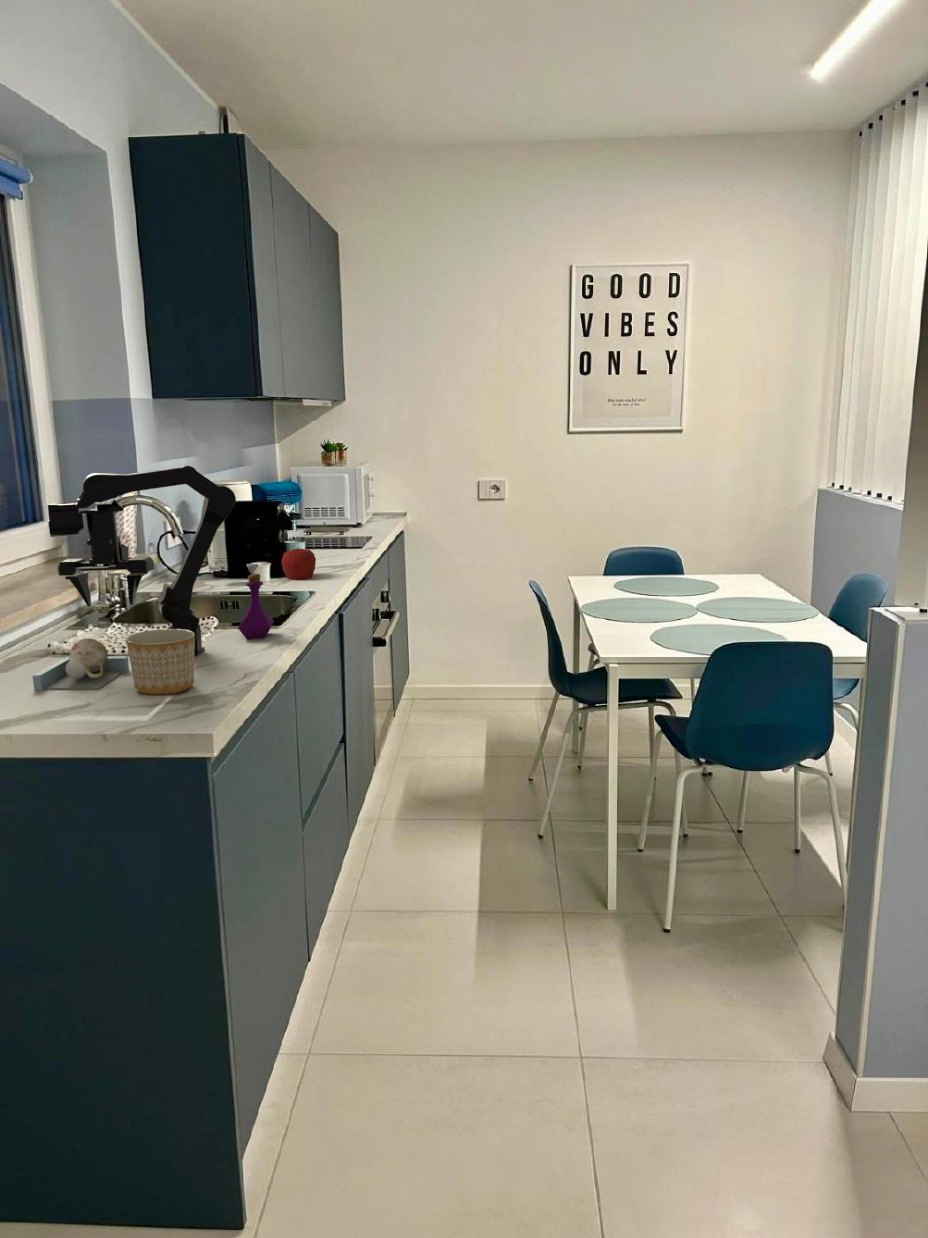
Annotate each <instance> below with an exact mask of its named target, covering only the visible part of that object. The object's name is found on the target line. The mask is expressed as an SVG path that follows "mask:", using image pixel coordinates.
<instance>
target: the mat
mask: <svg viewBox="0 0 928 1238" xmlns="http://www.w3.org/2000/svg"><path fill="white" fill-rule="evenodd" d="M98 673H100V671H96V672H94V673H93V674H98ZM124 673H125V672H124V671H104V673H103V675H102V676H101V677H98V678H90V677H89V676H88V675H87V674H85V675H84V676H83V677H82V678H80V679H73V678H71V677H70V676H68V675H67V676H65V677H63V678H62V679H60V680H58V681H57V682H55V683H53V684H51V685H50V686H48V687H46V688H45V690H46V691H48V690H49V691H50V690H52V691H53V690H54V691H55V690H56V691H57V690H62V691H63V690H64V691H65V690H68V691H69V690H72V691H73V690H75V691H77V690H82V691H83V690H86V691H87V690H88V691H89V690H90V691H91V690H93V691H94V690H97V691H99V690H100V689H102V688H103V687H105V686H107V685H108V684H110V683H111V682H112V681H114V680H115V679H117V678H118V677H120V676H121V675H123V674H124Z"/></svg>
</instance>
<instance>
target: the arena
mask: <svg viewBox="0 0 928 1238" xmlns="http://www.w3.org/2000/svg"><path fill="white" fill-rule="evenodd" d="M69 658H70V656H65V657H63V658H62V659H60V660H58V661H56V662H53V664H51V665H49V666H47V667H45V668H43V669H41V670H40V671H38V672H36V673H35V674H33V675H32V683H33V690H34V691H43V690H46V687H48V686H50V685H52V684H53V683H55V682H57V681H58V680H60V679H62V678H63V677H65V676H67V675H68V674H67V673H66V670H65V668H66V665H67V663H68V662H69V661H70V659H69ZM98 671H100V670H98ZM103 671H124V673H127V672H129V671H130V667H129V657H128V656H108V658H107V661H106V663H105V665H104V666H103Z"/></svg>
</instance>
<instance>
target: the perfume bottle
mask: <svg viewBox="0 0 928 1238" xmlns="http://www.w3.org/2000/svg"><path fill="white" fill-rule="evenodd" d="M246 567H247V570H248V571H249V573H250V574H249V575H248V576H247V579H248V581H247V582H246V583H245V585H246V586H247V587H248V589H249V590H250V599H249V600H250V602H249V606H248V609H247V611H246V613H245V615H244V617H243V618H242V620H241V622H240V624H239V625H238V629H237V630H239V631H240V633H241V634H242V636H243V638H245V639H246V640H254V639H256V640H257V639H266V638H267V636H268V634H269V632H270V630H271V628H272V627H273V624H274V619H272V618H271V616H269V615H268V614H267V612H266V611H265V610H264V608H263V607H262V604H261V601H260V588H261V586H263V585H264V582H263V581H261V574H260V573H255V571H256V570H257V568H258V567H259V564H257V563H247V564H246Z"/></svg>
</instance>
